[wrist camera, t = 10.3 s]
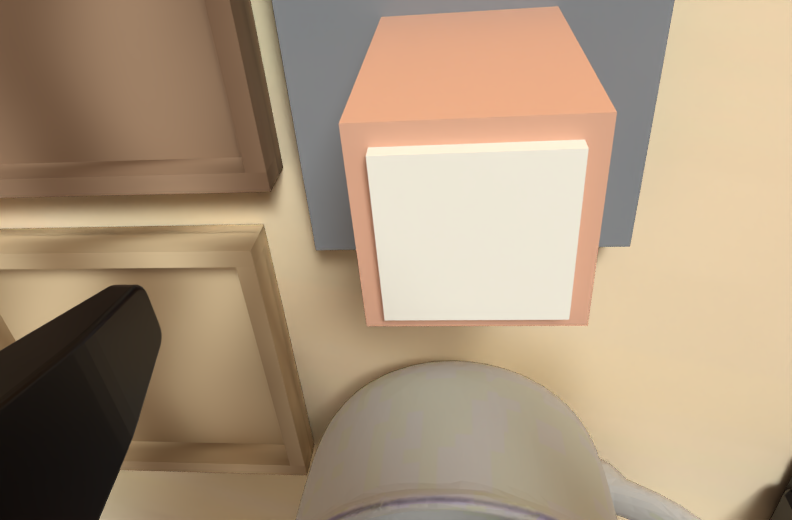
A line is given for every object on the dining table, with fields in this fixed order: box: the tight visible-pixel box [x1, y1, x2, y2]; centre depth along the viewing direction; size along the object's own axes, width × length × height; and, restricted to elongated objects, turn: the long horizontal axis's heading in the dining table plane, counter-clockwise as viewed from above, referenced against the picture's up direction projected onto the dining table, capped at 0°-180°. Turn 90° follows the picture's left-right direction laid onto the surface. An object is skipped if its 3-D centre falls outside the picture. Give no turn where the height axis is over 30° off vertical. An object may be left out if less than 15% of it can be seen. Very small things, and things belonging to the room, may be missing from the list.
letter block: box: [339, 6, 617, 326], centre depth 12 cm, size 4×4×6 cm
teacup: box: [296, 361, 701, 520], centre depth 21 cm, size 14×11×8 cm
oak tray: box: [0, 224, 314, 475], centre depth 23 cm, size 11×11×2 cm
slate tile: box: [272, 0, 675, 250], centre depth 16 cm, size 9×9×2 cm
